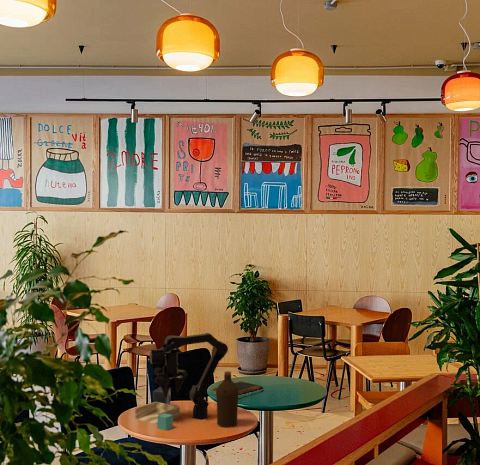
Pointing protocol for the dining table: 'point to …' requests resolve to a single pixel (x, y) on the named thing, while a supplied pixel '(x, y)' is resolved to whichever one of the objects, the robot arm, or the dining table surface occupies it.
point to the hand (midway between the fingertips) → (171, 394)
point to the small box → (161, 396)
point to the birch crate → (156, 411)
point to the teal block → (165, 421)
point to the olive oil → (227, 402)
